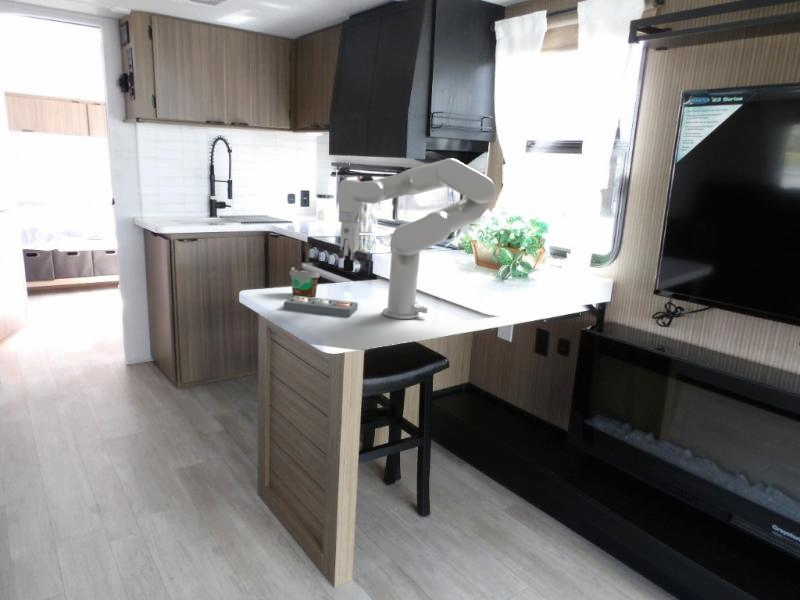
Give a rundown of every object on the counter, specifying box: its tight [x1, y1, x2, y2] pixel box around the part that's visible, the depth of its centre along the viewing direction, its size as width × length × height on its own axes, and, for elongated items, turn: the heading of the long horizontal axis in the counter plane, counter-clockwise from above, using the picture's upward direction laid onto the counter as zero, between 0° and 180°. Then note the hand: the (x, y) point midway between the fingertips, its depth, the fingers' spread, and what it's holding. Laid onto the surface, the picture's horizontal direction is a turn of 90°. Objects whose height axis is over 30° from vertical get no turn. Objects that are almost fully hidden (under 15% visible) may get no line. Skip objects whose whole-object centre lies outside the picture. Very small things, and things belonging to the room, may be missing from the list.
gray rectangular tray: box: [283, 295, 359, 318], centre depth 194 cm, size 23×11×3 cm, turn 80°
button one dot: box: [314, 298, 329, 305], centre depth 194 cm, size 5×5×3 cm
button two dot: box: [293, 297, 308, 303], centre depth 195 cm, size 5×5×3 cm
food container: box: [289, 266, 320, 298], centre depth 210 cm, size 12×6×10 cm, turn 62°
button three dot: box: [335, 301, 350, 308], centre depth 193 cm, size 5×5×3 cm
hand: (348, 271), depth 194 cm, fingers closed
